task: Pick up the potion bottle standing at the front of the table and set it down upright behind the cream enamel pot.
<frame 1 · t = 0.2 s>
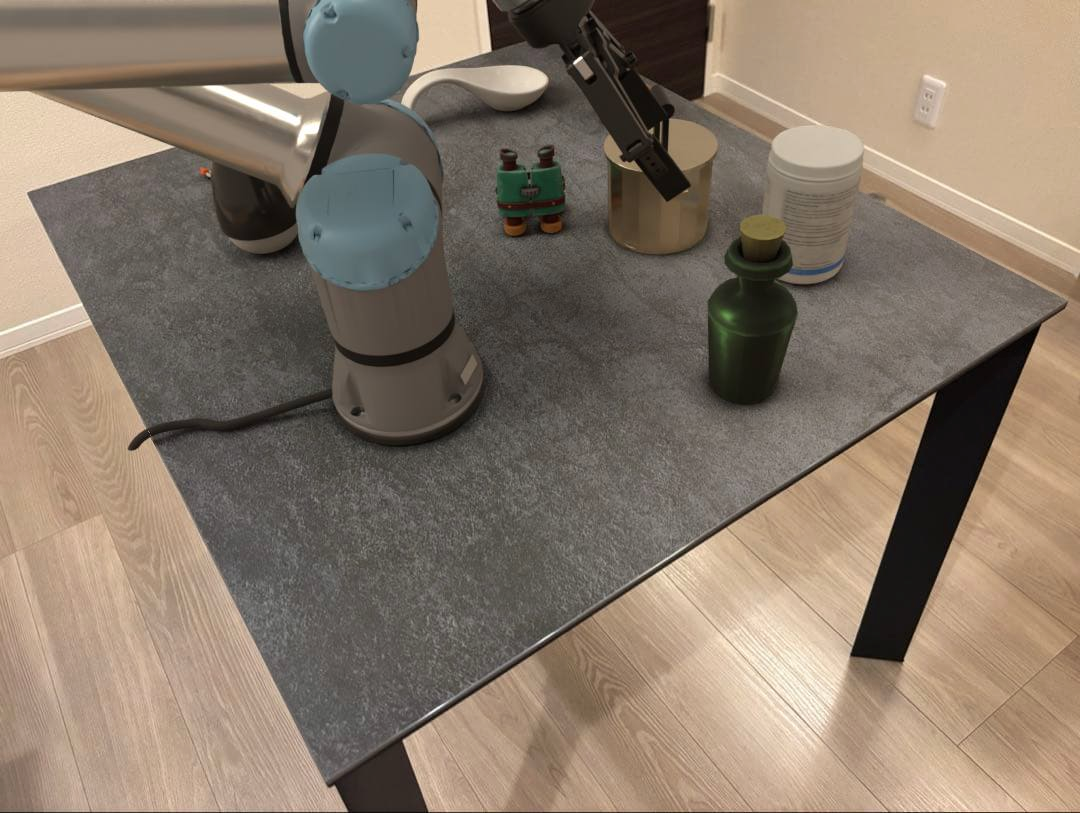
hand: (667, 155, 84), 16 cm above the table, tool tilted 35°, fingers open, 13 cm apart
toy field glasses: (532, 218, 107), on the table
lion figurine: (622, 125, 123), on the table
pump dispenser: (270, 242, 107), on the table
spoon rest: (477, 113, 129), on the table
supplement tub: (797, 264, 96), on the table
potion bottle: (741, 384, 82), on the table
pot: (657, 227, 103), on the table
pot lid: (660, 148, 95), point 10 cm above the table, touching pot
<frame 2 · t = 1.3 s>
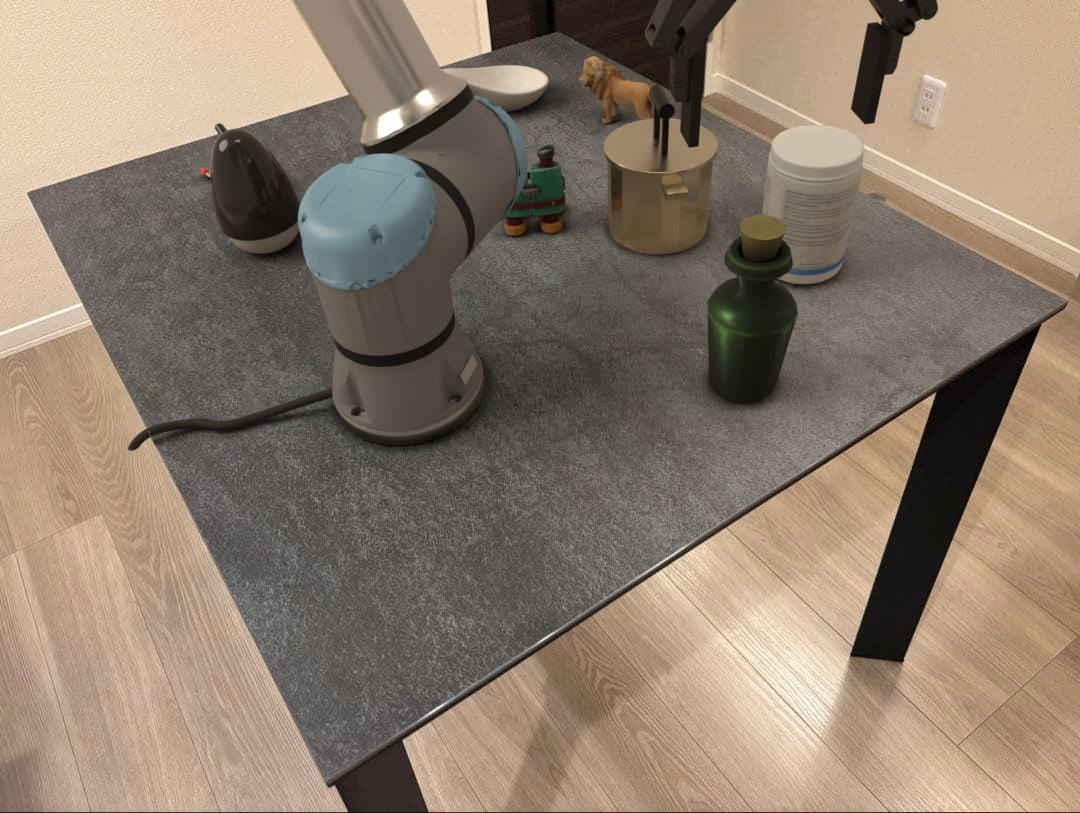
hand: (776, 128, 64), 27 cm above the table, tool pointing down, fingers open, 13 cm apart
nothing on the table moved.
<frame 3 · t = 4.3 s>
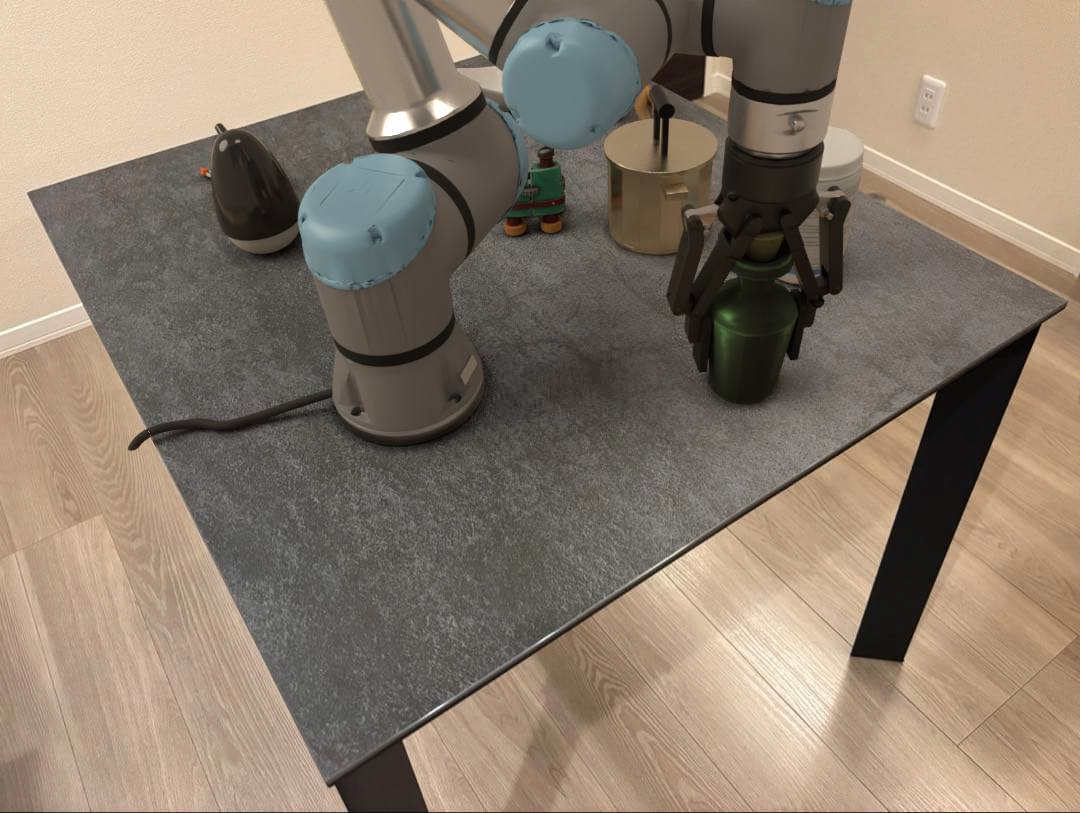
hand: (744, 357, 80), 3 cm above the table, tool pointing down, fingers closed on potion bottle, 8 cm apart
potion bottle: (741, 384, 82), on the table, touching gripper
everything else where it was.
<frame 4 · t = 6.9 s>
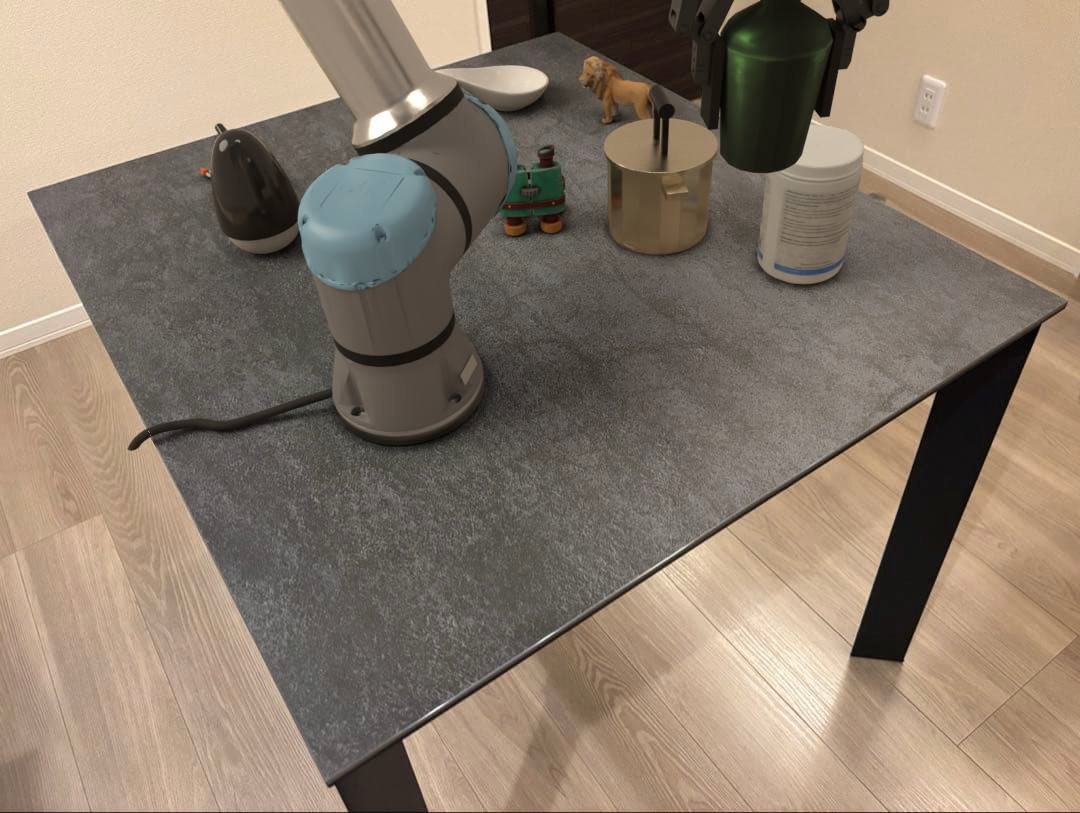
hand: (764, 115, 65), 27 cm above the table, tool pointing down, fingers closed on potion bottle, 8 cm apart
potion bottle: (759, 157, 68), point 23 cm above the table, touching gripper
everything else where it was.
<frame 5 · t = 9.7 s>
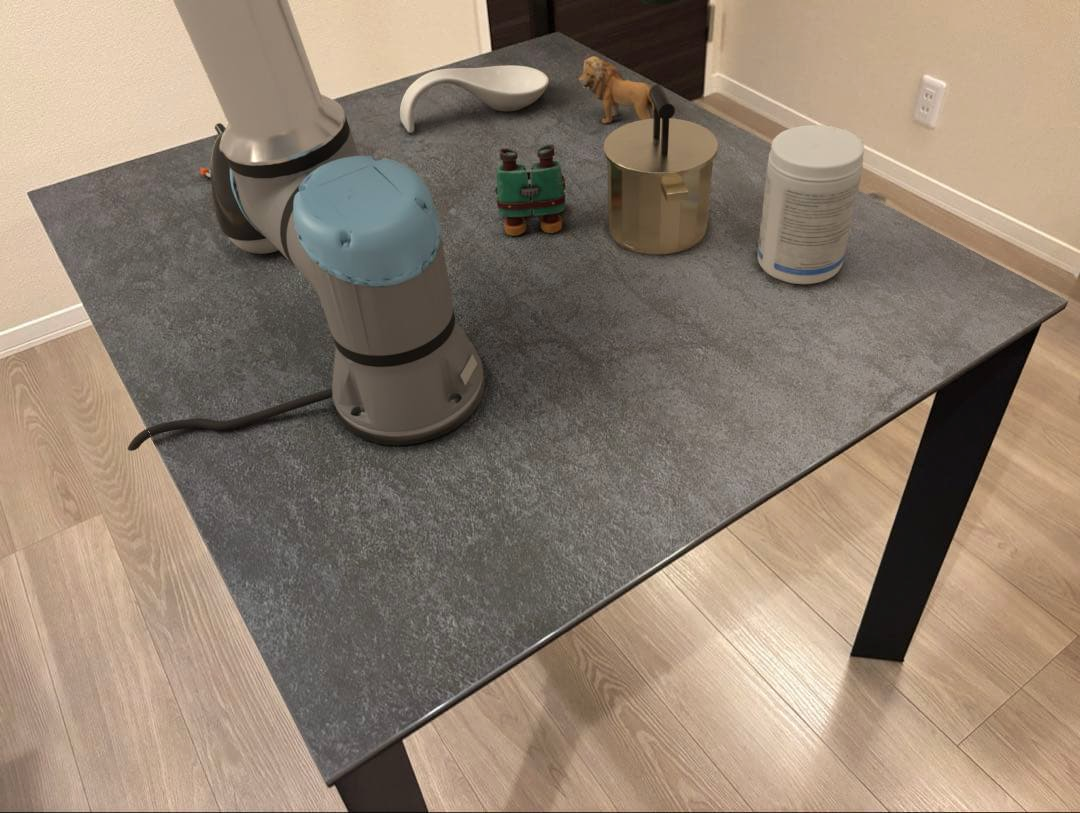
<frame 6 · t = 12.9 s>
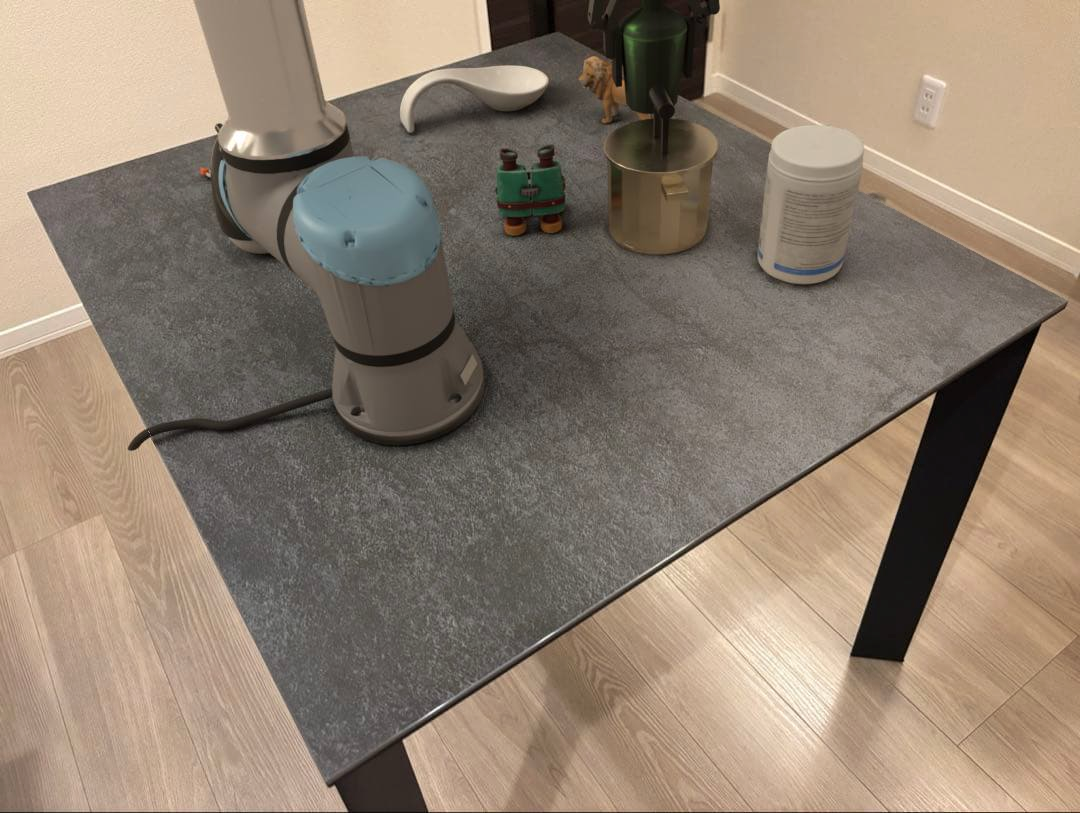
hand: (651, 77, 104), 13 cm above the table, tool pointing down, fingers closed on potion bottle, 8 cm apart
potion bottle: (651, 104, 106), point 9 cm above the table, touching gripper
everything else where it was.
when the fingers open (3 cm above the table, at t = 15.5 s): potion bottle stays where it is, on the table.
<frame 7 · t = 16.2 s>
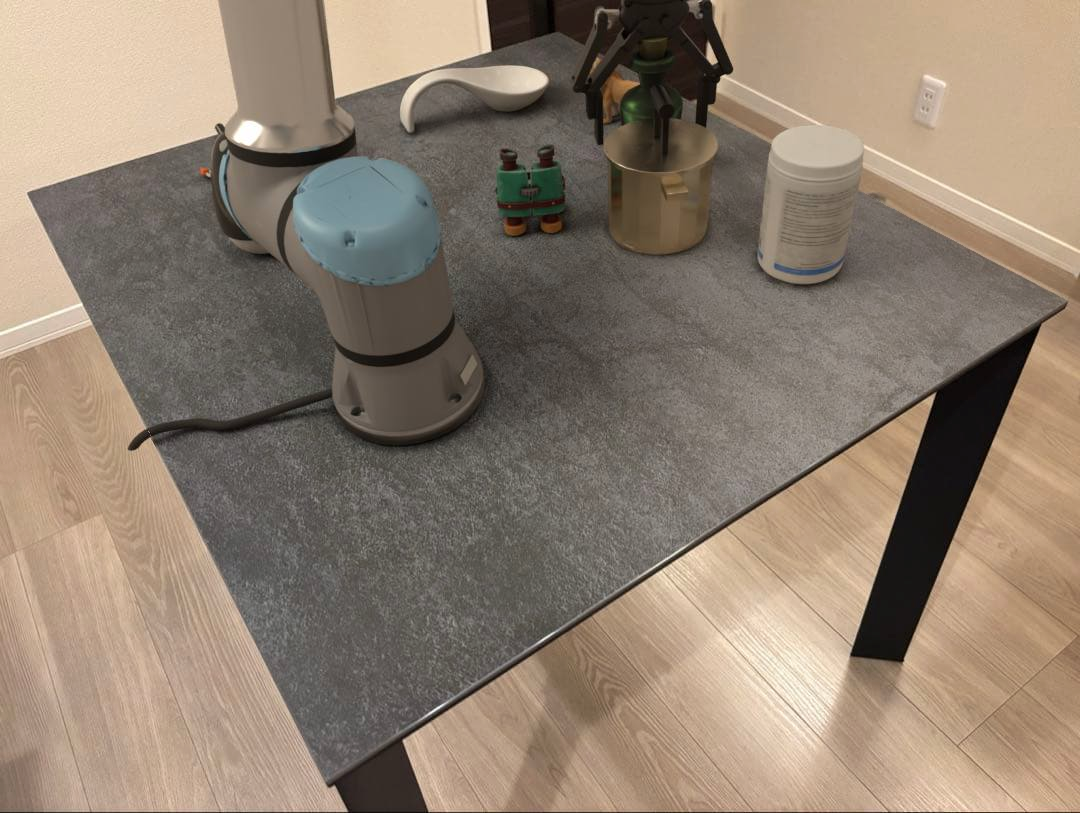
hand: (649, 134, 109), 5 cm above the table, tool pointing down, fingers open, 13 cm apart
potion bottle: (649, 171, 113), on the table
everything else where it was.
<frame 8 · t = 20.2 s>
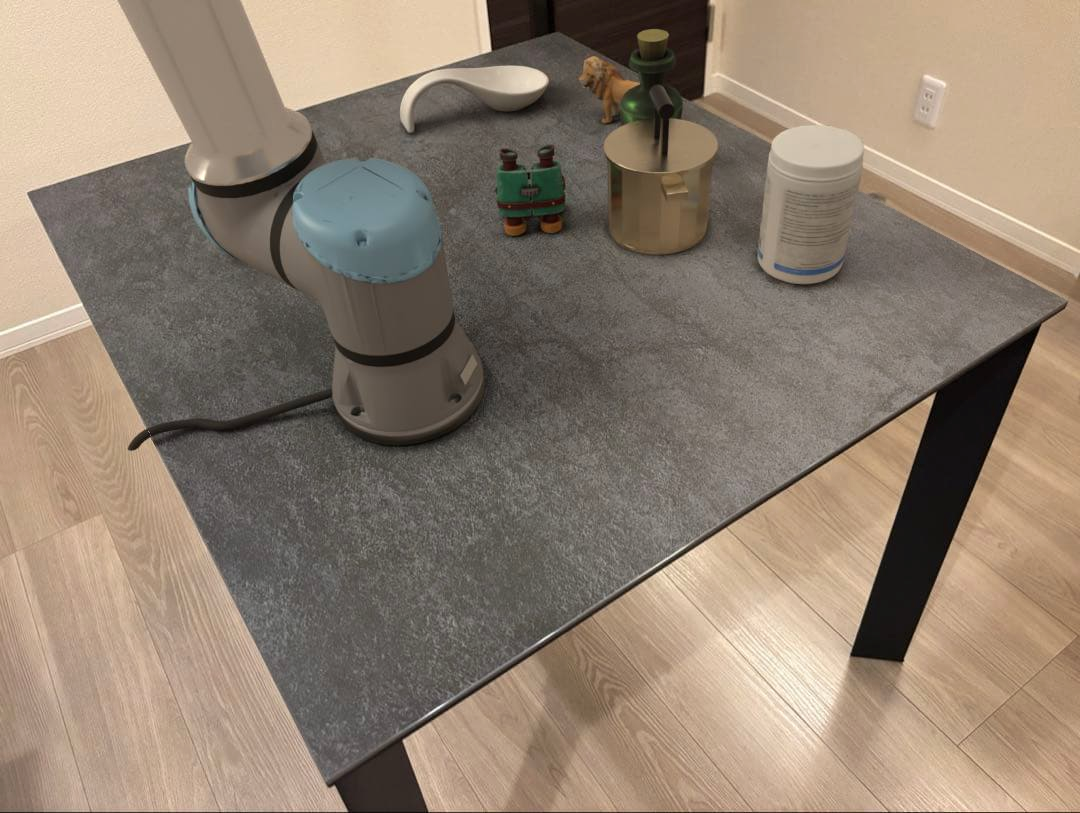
nothing on the table moved.
at the end: potion bottle inside the target area on the table beside the pot (1.2 cm from its centre), on the table; potion bottle tilted 0°; the gripper is holding nothing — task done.
